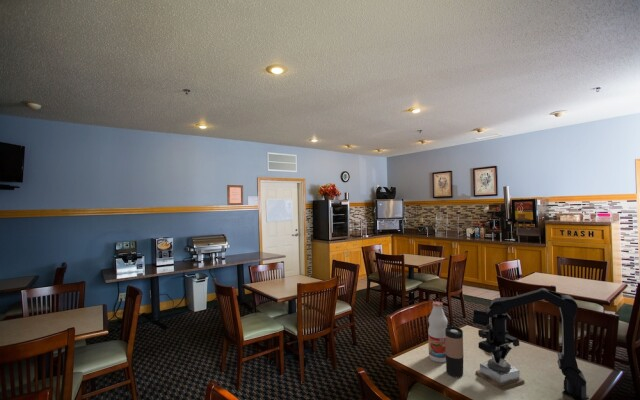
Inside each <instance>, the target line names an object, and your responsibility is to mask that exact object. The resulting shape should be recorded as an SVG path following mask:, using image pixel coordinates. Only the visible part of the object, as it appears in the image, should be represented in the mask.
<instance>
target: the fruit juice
mask: <svg viewBox="0 0 640 400" xmlns="http://www.w3.org/2000/svg"><path fill="white" fill-rule="evenodd" d="M443 306H444V305H443V302H441V301H433V302H432V310H431V312H430V314H429V316H428V319H427V320H428V321H427V322H428V324H429V326H428V331H427V334H428V336H427V337H428V338H427V339H428V341H427V342H428V357H429V359H430V360H431V361H433V362H436V363H446V349H445V329H446V328H447V327H448V324H449V323H448V322H449V321H448V318H447V316H446V315H445V311H444V309H443Z"/></svg>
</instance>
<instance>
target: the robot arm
mask: <svg viewBox="0 0 640 400" xmlns="http://www.w3.org/2000/svg"><path fill="white" fill-rule="evenodd" d="M543 300H544V301H546V302H549V303H550V304H552V305H554V306H556V307H558V308H559V312H560V315H561V337H562V338H561V339H562V340H561V341H562V344H561V345H562V351H561V353H559V352H557V353H556V354H557V366H558V369H559V370H561V373H562V375H563V376H564V379H563V390H562V393H563V394H564V395H566V396H567V397H570V398H572V399H573V400H587V399H589V398H590V395H588V394H587V383H588V382H587V381H586V378H585V376H584V373H583V371H582V370H580V368H579V366H578V362H577V358H576V354H575V353H576V352H575V350H576V349H575V319H576V317H577V313H578V309H579V308H578V307H579V306H578V303H577V302H576V300H575V298H573V296H571V295H569V294H562V293H559V292H556V291H553V290H549V289H547V288H544V287H540V288H539V289H536V290H531V291H528V292H524V293H522V294H521V293H520V294H517V295H514V296H510V297H506V296H504V297H495V298H493V299H492V300H491V302H490V303H491V304H490V306H489V307H488V308H487V310H482V309H478V308H474V309H473V317H472V325H476V326H483V327H486V326H487V325H488V324H491V327H492V328H490V329H489V330H486V329H485V330H484V329H478V332H477V333H478V337H480V338H481V341H479V342H477V344H478V349H480V350H483V351H484V352H486V353H488V354H492V355H493V356H494V358H495V361H496V363H498V364H499V362H500V358H502V359H504V360H506V359H505V358H506V357H507V355H508V354H509V353H510V352H511V350H512V347H511V346H510V345H511V344H512V346H513V347H519V346H520V341H519V339H518V338H517V337H515V336H512V335H510V334H509V331H508V330H507V321H511V320H512V319H511V316H510V315H509V314H508V312H510V311H511V310H513V309H515V308H517V307H522V306H525V305H528V304H532V303H533V304H534V303H536V302H540V301H543ZM490 322H491V323H490ZM506 334H509V335H507V336H506ZM486 338H488V340H490V341H492V342H491V343H490V342H488V341H486ZM482 339H485V340H482ZM508 344H509V345H508ZM588 397H589V398H588ZM586 398H587V399H586Z"/></svg>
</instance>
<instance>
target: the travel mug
mask: <svg viewBox="0 0 640 400" xmlns="http://www.w3.org/2000/svg"><path fill="white" fill-rule="evenodd" d="M445 349H446V362H445V369H446V374H447V375H448V376H449V377H453V378H462V377H463V376H464V330H463V329H461V328H459V327H455V326H447V328H446V329H445Z"/></svg>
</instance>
